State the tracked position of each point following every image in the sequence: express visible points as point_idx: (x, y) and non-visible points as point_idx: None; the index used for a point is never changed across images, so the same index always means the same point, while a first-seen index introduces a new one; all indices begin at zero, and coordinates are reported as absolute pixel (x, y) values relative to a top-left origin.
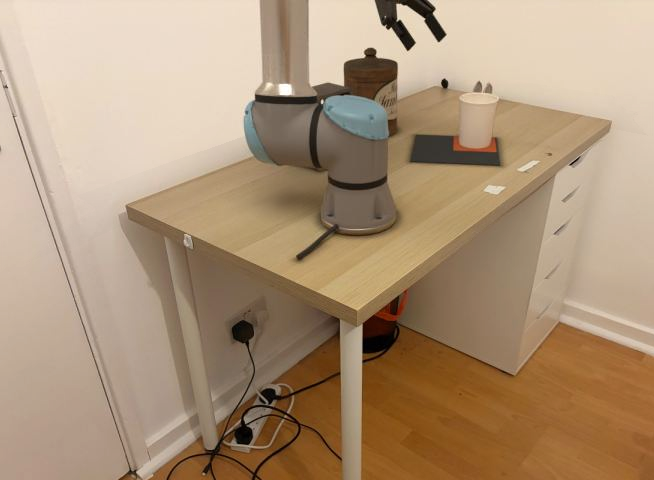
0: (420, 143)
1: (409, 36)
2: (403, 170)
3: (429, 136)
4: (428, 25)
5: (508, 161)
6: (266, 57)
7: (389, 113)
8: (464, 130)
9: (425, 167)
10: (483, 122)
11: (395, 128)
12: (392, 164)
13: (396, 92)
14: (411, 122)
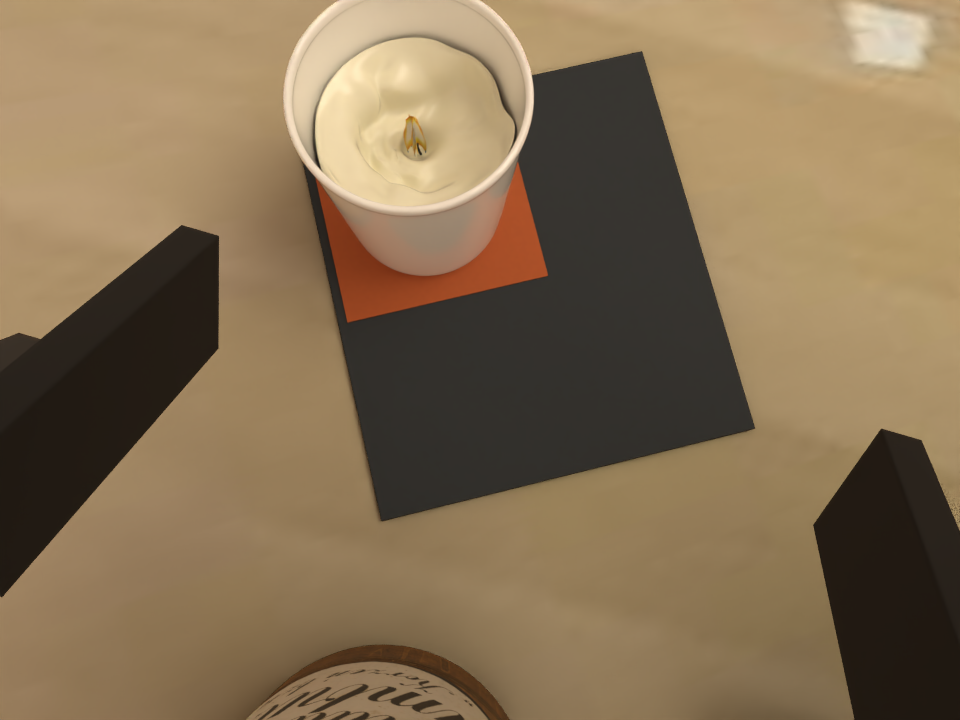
0: (508, 454)
1: (950, 520)
2: (858, 425)
3: (388, 441)
4: (75, 496)
5: (573, 32)
6: None
7: (441, 689)
8: (500, 212)
9: (784, 343)
10: (500, 96)
11: (375, 648)
12: (812, 498)
13: (331, 707)
14: (164, 617)
